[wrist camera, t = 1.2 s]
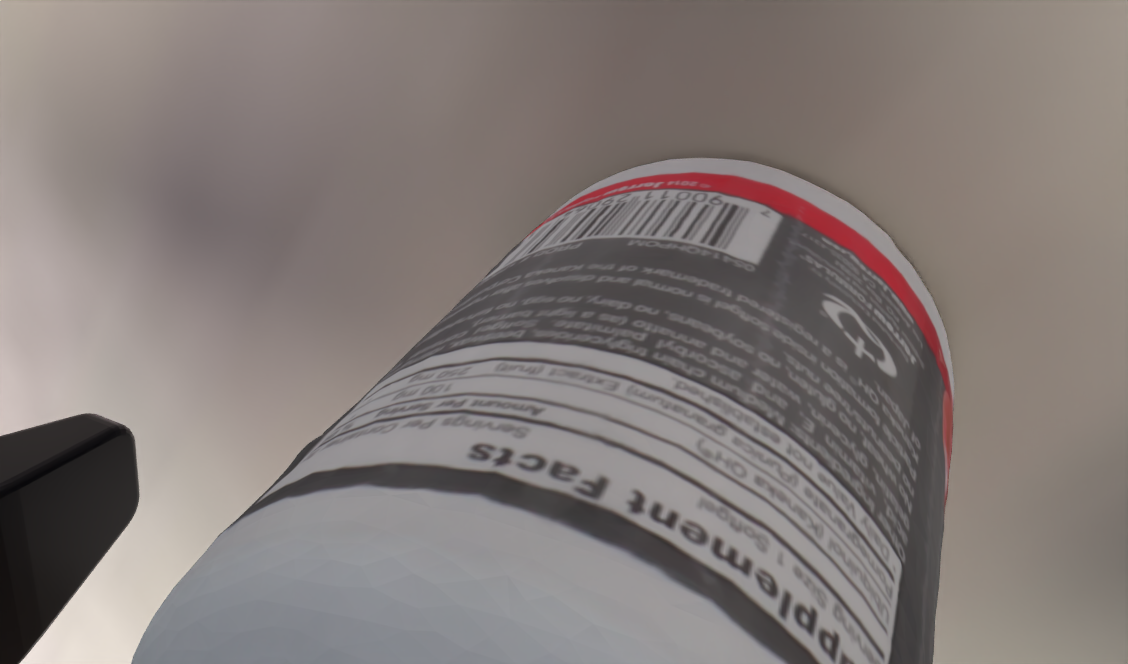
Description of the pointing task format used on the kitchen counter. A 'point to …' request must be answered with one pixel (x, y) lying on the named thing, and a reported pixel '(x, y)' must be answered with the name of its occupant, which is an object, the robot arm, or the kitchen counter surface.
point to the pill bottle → (620, 456)
